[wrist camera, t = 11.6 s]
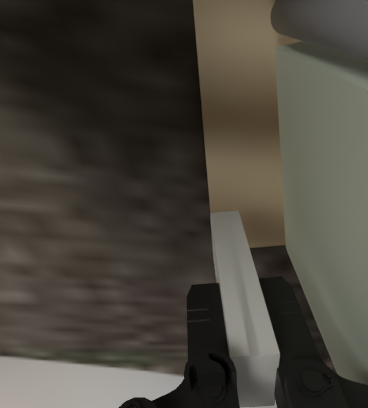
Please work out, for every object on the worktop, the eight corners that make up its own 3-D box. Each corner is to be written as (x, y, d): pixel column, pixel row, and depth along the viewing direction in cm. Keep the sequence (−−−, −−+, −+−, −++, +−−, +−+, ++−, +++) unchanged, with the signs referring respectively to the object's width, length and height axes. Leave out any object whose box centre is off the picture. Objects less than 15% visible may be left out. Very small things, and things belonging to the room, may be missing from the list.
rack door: (269, -4, 11) (445, -28, 3) (352, -25, 11) (754, -105, 3) (283, 248, 17) (357, 431, 10) (336, 239, 17) (454, 424, 10)
